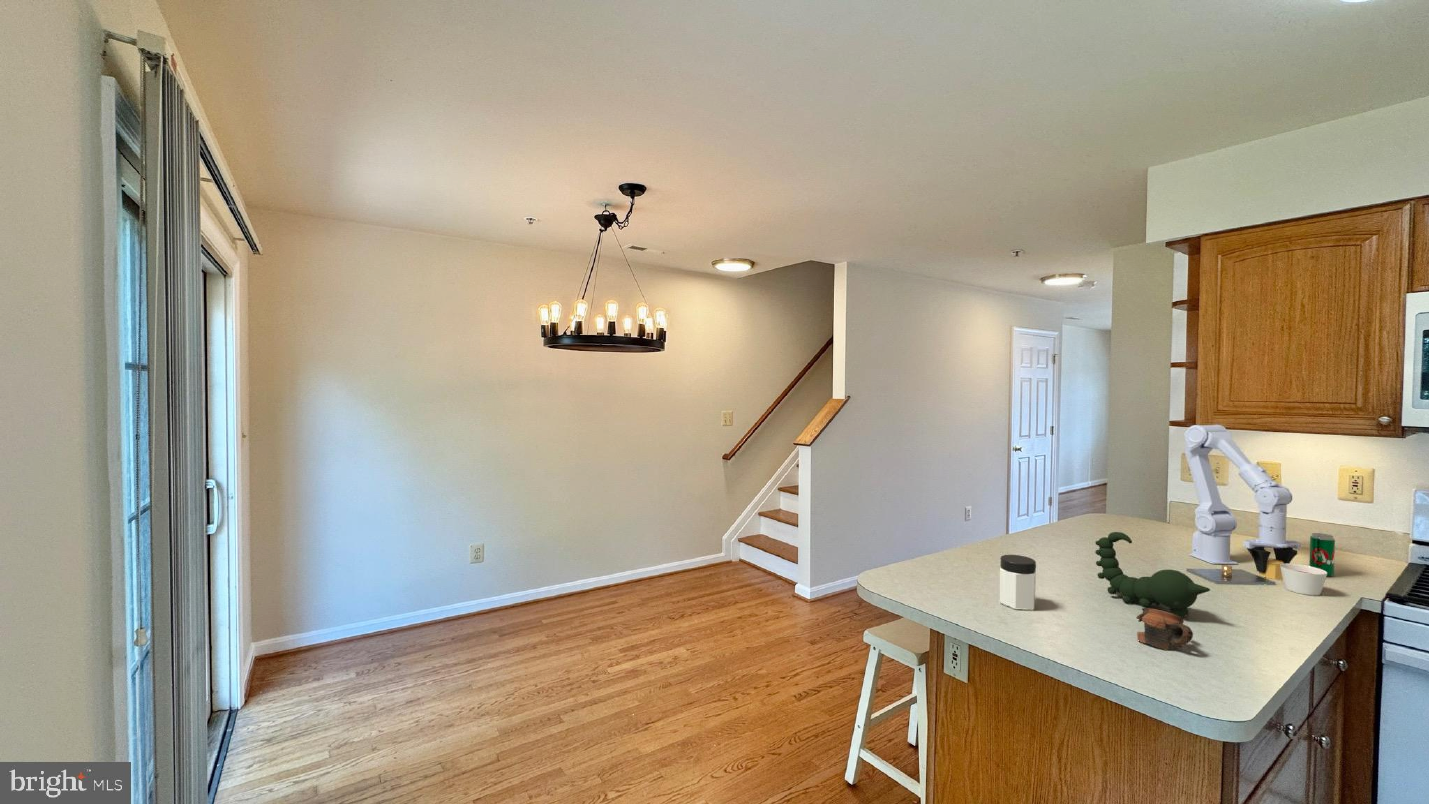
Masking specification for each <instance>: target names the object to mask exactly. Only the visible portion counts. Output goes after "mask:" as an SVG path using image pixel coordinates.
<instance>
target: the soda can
mask: <svg viewBox="0 0 1429 804" xmlns="http://www.w3.org/2000/svg"><path fill="white" fill-rule="evenodd" d="M1335 544H1336V539H1335V538H1334V536H1333V535H1331V534H1328V533H1322V532H1321V533H1320V532H1312V533H1311V535H1310V536H1309V562H1308V564H1309V565H1308V566H1311V567H1315V568H1319V569H1322V570H1324V571H1326V572H1327V576H1328V577H1333V576H1334V575H1335V556H1336V555H1335V554H1336V553H1335V552H1336V550H1335V549H1336V545H1335ZM1328 577H1327V578H1328Z"/></svg>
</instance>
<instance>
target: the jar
mask: <svg viewBox="0 0 1429 804" xmlns="http://www.w3.org/2000/svg"><path fill="white" fill-rule="evenodd" d="M1036 569H1037V564H1036V560H1035V559H1033V558H1031V557H1028V556H1024V555H1019V554H1004V555H1001V556H1000V568H999V603H1000V602H1001V603H1004V604H1006V605H1009V606H1011V607H1013V608H1021V609H1023V608H1026V609H1034V610H1035V607H1034V606H1036V580H1037V579H1036V578H1037V577H1036V574H1037V573H1036V571H1037V570H1036Z"/></svg>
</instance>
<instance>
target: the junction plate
mask: <svg viewBox="0 0 1429 804" xmlns="http://www.w3.org/2000/svg"><path fill="white" fill-rule="evenodd" d="M1185 571H1186V572H1187V573H1190V574H1192V575H1194V576H1197V577H1199V578H1202V579H1203V580H1207V581H1208V580H1209V582H1211V583H1213V582H1214V583H1213V584H1216V585H1255V586H1256V585H1257V586H1258V585H1259V584H1260V585H1261V586H1262V585H1263V586H1264V584H1266V586H1275V585H1276V581H1274V580H1272V579H1269V578H1264V577H1262V576H1259V574H1255V573H1253V572H1249V571H1246V570H1244V569H1242V568H1241V569H1240V568H1239V569H1237V568H1236V569H1235V568H1234V569H1233V566H1231V565H1230V564H1221V568H1186V570H1185ZM1260 585H1259V586H1260Z"/></svg>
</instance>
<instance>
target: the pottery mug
mask: <svg viewBox="0 0 1429 804" xmlns="http://www.w3.org/2000/svg"><path fill="white" fill-rule="evenodd" d="M1141 611H1142V612H1141V613H1139V614H1137V616H1136V619H1137V620H1138V622H1139V623H1140V622H1142V623H1144V624H1143V628H1144V631H1137V633H1136V634H1137V635H1136V636H1137V641H1138V640H1139V641H1140V642H1139V643H1141V644H1146V645H1150V646H1152V647H1155V648H1158V649H1161V650H1164V649H1165V650H1164V651H1166V650H1168V651H1169V647H1170V645H1171V644H1172V646H1173V647H1174V648H1175V649H1180V648H1182V646H1186V645H1188V643H1190V642H1192V640H1193V637H1194V632H1193V631H1192V629H1191V628H1190V626H1188V625H1185V624H1184V622H1185V620H1184V618H1183V617H1179V616H1177V615H1174V614H1171V612H1168V611H1164V610H1159V609H1156V608H1151V607H1149V608H1144V607H1143V608H1142V609H1141Z"/></svg>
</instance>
